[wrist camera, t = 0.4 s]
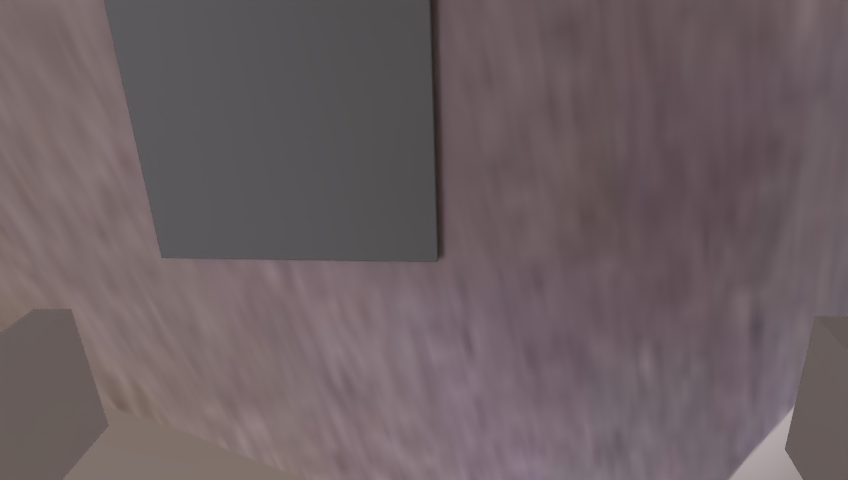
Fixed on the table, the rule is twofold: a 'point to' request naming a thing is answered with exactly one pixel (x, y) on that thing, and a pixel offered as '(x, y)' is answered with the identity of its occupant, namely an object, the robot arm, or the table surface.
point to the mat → (283, 126)
